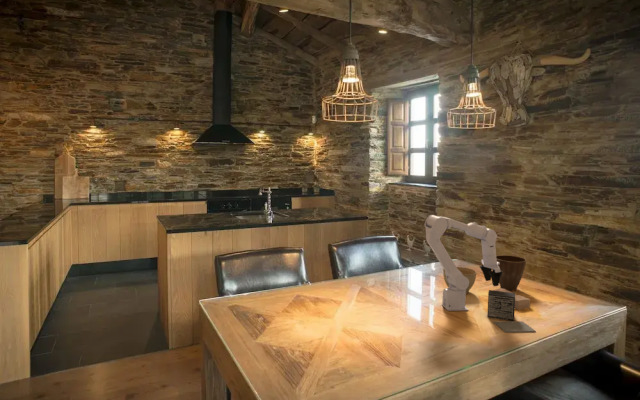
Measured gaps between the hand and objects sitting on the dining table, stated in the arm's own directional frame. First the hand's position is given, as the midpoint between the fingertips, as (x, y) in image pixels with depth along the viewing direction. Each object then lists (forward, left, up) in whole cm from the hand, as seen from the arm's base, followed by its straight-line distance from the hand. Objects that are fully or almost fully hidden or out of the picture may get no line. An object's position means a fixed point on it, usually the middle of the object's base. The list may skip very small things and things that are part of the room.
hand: (491, 283), depth 189 cm
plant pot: (+21, +25, -11) cm, 35 cm away
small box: (-2, -13, -11) cm, 17 cm away
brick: (+11, +4, -11) cm, 16 cm away
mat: (-2, -24, -11) cm, 26 cm away
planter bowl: (-7, +21, -11) cm, 25 cm away
